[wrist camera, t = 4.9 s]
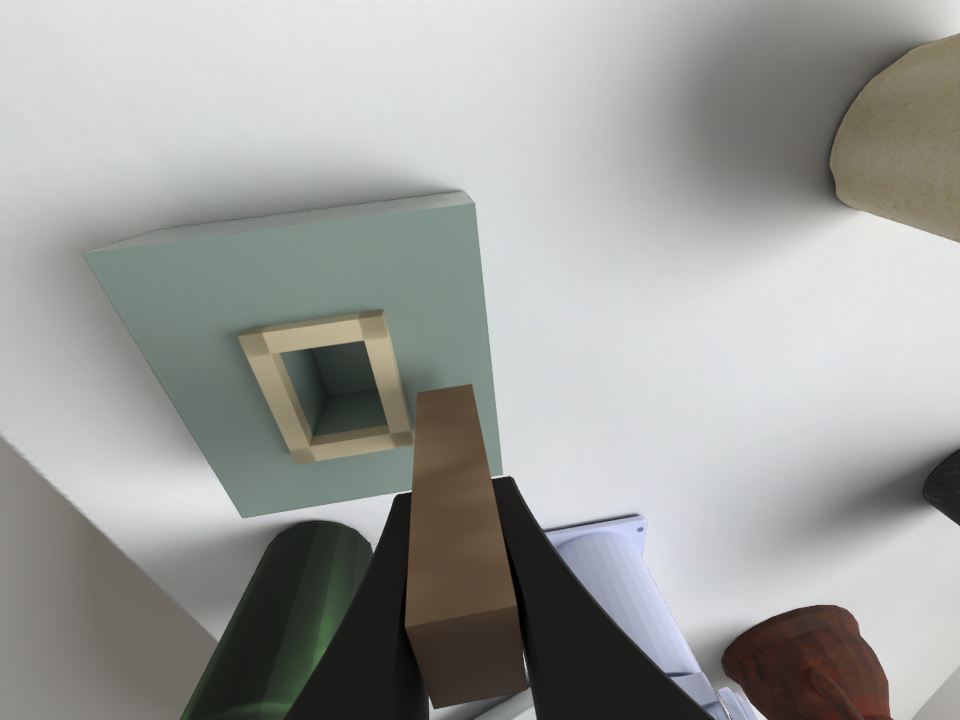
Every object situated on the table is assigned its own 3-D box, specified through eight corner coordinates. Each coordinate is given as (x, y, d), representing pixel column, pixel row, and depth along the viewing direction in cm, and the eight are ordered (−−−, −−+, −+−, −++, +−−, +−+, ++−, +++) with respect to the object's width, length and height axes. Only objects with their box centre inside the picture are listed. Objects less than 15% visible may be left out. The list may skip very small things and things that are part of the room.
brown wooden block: (472, 383, 14) (517, 604, 7) (481, 448, 15) (527, 689, 8) (417, 392, 14) (404, 627, 7) (431, 457, 15) (434, 709, 8)
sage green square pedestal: (490, 421, 22) (505, 484, 18) (272, 457, 21) (236, 529, 17) (464, 190, 16) (477, 205, 12) (160, 229, 15) (65, 258, 11)
